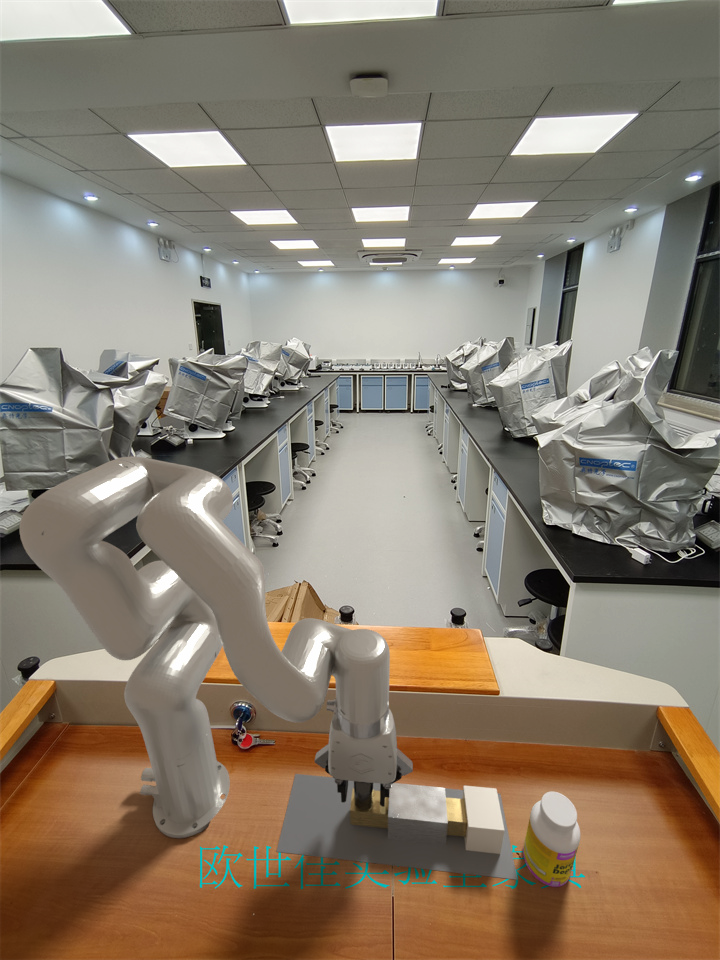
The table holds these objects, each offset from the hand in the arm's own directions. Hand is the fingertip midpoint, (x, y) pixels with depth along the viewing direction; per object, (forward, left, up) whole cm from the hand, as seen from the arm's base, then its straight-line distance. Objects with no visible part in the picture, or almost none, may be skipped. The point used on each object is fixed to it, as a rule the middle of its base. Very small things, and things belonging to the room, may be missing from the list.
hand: (363, 794), depth 67 cm
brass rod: (+9, 0, -6) cm, 11 cm away
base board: (+5, 0, -7) cm, 9 cm away
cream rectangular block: (+19, 0, -6) cm, 19 cm away
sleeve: (+9, 0, -6) cm, 10 cm away
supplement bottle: (+28, -3, -7) cm, 29 cm away
